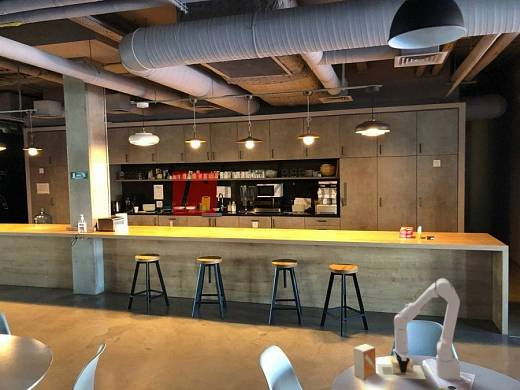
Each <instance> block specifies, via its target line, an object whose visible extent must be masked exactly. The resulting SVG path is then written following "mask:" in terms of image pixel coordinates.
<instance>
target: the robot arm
mask: <svg viewBox="0 0 520 390" xmlns="http://www.w3.org/2000/svg"><path fill="white" fill-rule="evenodd" d="M439 296H440V297H441V298H443V299H444V300H445V301H446V302H447V305H446V311H445V315H444V319H443V326H442V332H441V335H440V337H439V340H438V341H437V343H436V346H435V347H436V350H437V351H436V352H437V353H436V356H435V363H436V367H435V368H436V376H437V378H440V379H443V380H459V381H460V380H461V366H460V360H459V359H458V358H455V357H454V355H453V349H452V348H453V339H454V334H455V330H456V329H455V328H456V324H457V319H458V314H459V311H460V310H459V309H460V304H461V301H460V298H459V296H458V294H457V291H456V289H455V287H454V285H453V284H452V283H451V282H450V281H449V280H448V279H447V278H444V277H442V278H438V279H437V280H436V281H435V282H433V283H432V284H431V285H430V286H429V287H428V288H427V289H426V290H425V291H424V292H423V293H421V295H420V296H419V297H418V298H417V299H416V300H415V301H414V302H410V303H406V304H405V306H404V308H403V309H402V310H400V311H398V313H397V314H396V315H395V316H394V319H393V326H394V348H393V349H392V353H394V354H395V356H396V357H395V358H397V361H398V362H399V366H400V371H401V373H406V370H407V365H408V362H409V361H410V359H411V358H409V357H408V355H409V352H410V350H409V340H408V337H409V336H408V330H407V329H408V328H407V327H408V324H409V323H410V322H412V321H413V319H414V318H416V316H418V315H419V314H420V312H421V311H420V309H421V308H422V307H423V306H424V305H426V303H427V302H429V301H430V300H431V299H432V298H439Z"/></svg>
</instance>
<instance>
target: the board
mask: <svg viewBox="0 0 520 390" xmlns="http://www.w3.org/2000/svg"><path fill="white" fill-rule="evenodd" d="M376 366H377V367H376V368H377V372H378V376H379V377H378V378H381V379H383V378H385V379H386V378H387V379H390V378H391V379H414V380H427V377H426V376H425V373H424V370H423V368H422V366H421V365H419V364H418V365H417V364H413V374H400V373H393V371H392V364H387V363H385V364H384V363H383V364H382V363H377V364H376Z"/></svg>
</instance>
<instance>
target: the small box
mask: <svg viewBox="0 0 520 390" xmlns="http://www.w3.org/2000/svg"><path fill="white" fill-rule="evenodd" d="M376 361H377V359H376V347H375V346H373V345H370V344H367V343H364V344H361V345H357V346H355V347H353V367H354V368H353V371H354V376H356V377H358V378H360V379H362V380H366V379H367V378H368V377H369V376H372V375H374V374H376V373H377V367H376V366H377V364H376Z"/></svg>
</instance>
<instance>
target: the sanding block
mask: <svg viewBox="0 0 520 390" xmlns="http://www.w3.org/2000/svg"><path fill="white" fill-rule="evenodd" d="M390 359H391V360H390V362H391V365H392V371H393V373H400V374H413V365H414V361H413V359H412V358H409V359H410V361H409V362H408V365H407V370H406V373H401V371H400V366H399V362H398V361H397V358H396V357H391V358H390Z"/></svg>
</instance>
